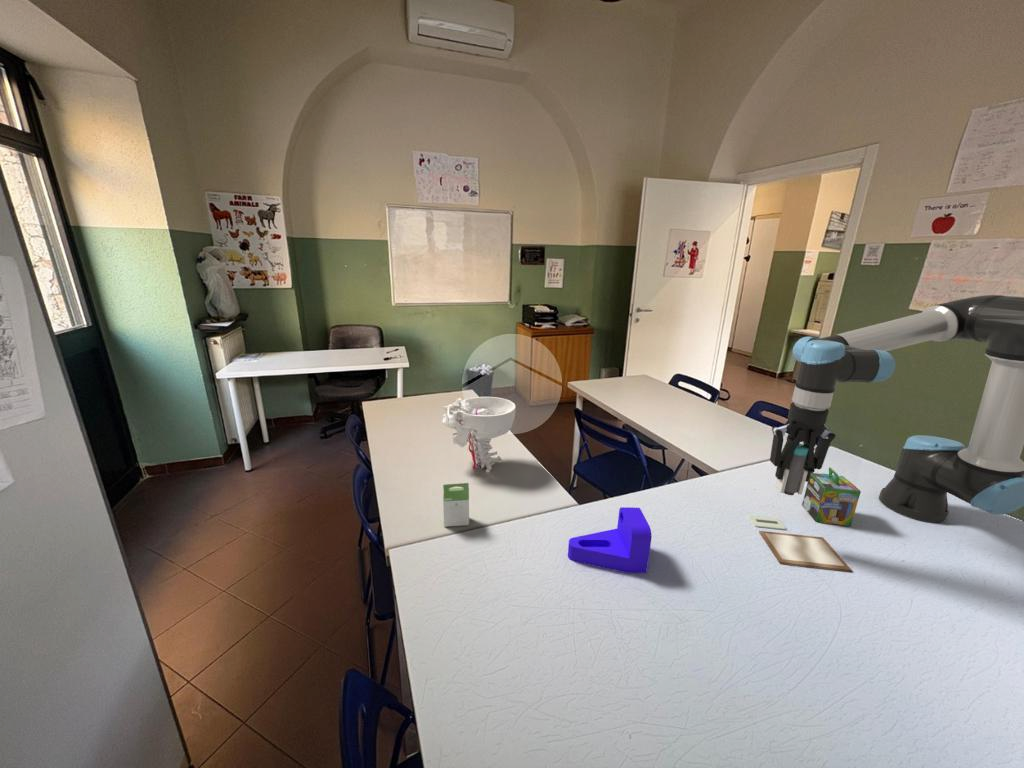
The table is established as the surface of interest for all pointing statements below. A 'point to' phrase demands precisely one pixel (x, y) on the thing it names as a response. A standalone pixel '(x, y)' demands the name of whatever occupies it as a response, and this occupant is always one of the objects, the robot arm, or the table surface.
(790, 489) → the marker
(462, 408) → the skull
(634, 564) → the bracket
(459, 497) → the ink box
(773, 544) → the brown picture frame
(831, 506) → the chalk box
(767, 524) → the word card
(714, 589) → the table surface
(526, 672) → the table surface
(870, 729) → the table surface
